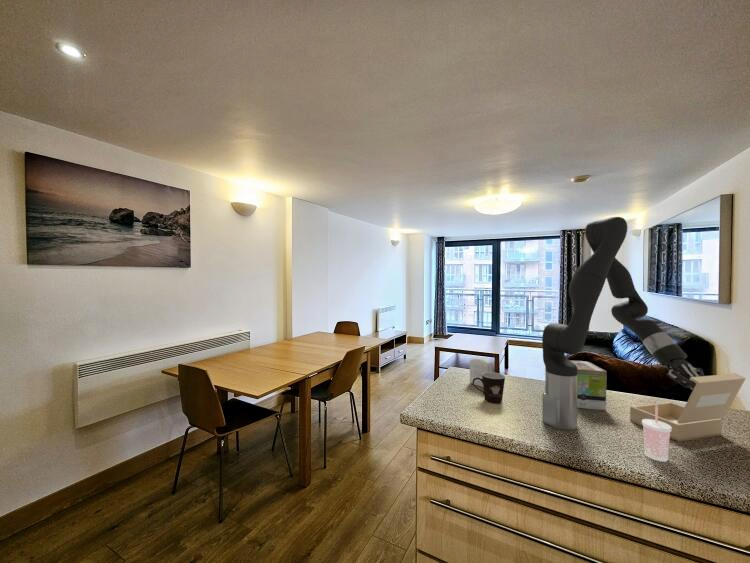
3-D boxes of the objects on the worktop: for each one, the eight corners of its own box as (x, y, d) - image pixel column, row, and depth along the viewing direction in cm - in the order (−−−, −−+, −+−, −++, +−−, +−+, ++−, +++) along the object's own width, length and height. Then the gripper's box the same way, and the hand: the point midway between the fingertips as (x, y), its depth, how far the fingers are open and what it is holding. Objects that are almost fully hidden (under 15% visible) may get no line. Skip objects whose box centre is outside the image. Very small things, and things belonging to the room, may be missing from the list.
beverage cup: (647, 460, 84) (647, 408, 84) (637, 448, 90) (638, 399, 90) (676, 465, 82) (676, 411, 82) (664, 453, 88) (665, 403, 88)
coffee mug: (506, 399, 127) (507, 374, 126) (502, 406, 119) (502, 380, 119) (477, 393, 133) (477, 369, 133) (471, 400, 125) (471, 375, 125)
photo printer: (493, 387, 140) (493, 359, 140) (487, 389, 138) (487, 361, 137) (474, 381, 148) (474, 355, 148) (468, 383, 146) (468, 356, 146)
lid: (670, 417, 96) (679, 424, 93) (690, 377, 91) (700, 382, 89) (714, 412, 100) (724, 417, 98) (735, 373, 95) (746, 378, 93)
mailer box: (677, 441, 94) (678, 425, 94) (630, 421, 108) (630, 406, 107) (721, 435, 98) (721, 419, 98) (670, 416, 112) (670, 401, 112)
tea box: (607, 410, 116) (607, 370, 116) (577, 408, 118) (577, 369, 118) (588, 396, 131) (588, 360, 131) (561, 394, 133) (562, 359, 133)
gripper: (657, 344, 101) (704, 396, 90) (688, 342, 105) (736, 392, 93) (640, 356, 107) (681, 406, 95) (669, 353, 110) (713, 402, 98)
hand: (708, 399), depth 94 cm, fingers closed
